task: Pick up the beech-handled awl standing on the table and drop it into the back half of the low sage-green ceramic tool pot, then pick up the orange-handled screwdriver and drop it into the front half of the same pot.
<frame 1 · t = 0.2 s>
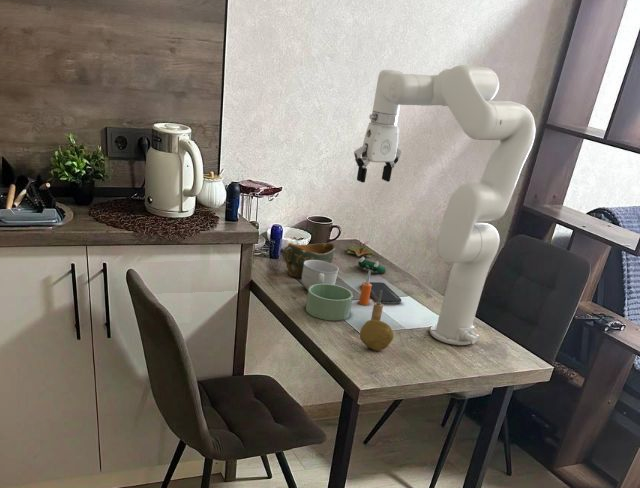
hand: (373, 180, 217), 31 cm above the table, tool pointing down, fingers open, 9 cm apart
green toy figure: (369, 271, 244), on the table
phone: (380, 295, 226), on the table
potato: (373, 349, 191), on the table
lily flower: (360, 254, 259), on the table
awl: (374, 324, 205), on the table
crock: (327, 311, 209), on the table
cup: (305, 273, 235), on the table
teacup: (316, 292, 222), on the table
screwdriver: (363, 303, 218), on the table
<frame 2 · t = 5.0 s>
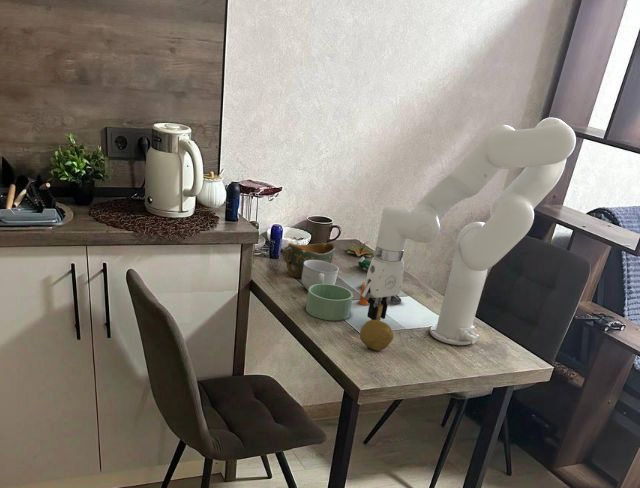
hand: (376, 317, 204), 2 cm above the table, tool pointing down, fingers closed on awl, 2 cm apart
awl: (374, 324, 205), on the table, touching gripper
everything else where it was.
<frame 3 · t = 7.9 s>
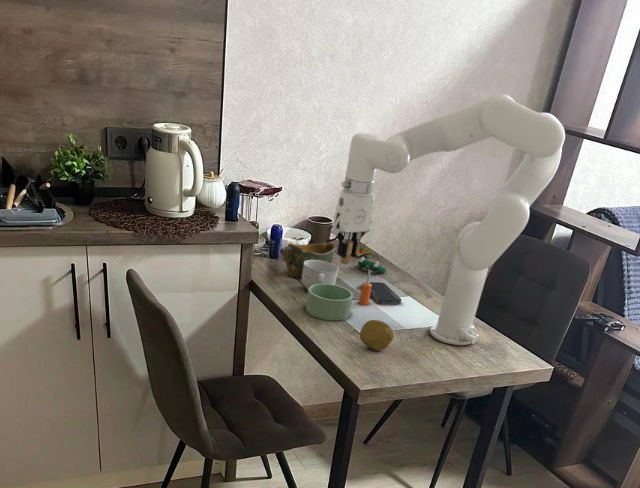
hand: (346, 255, 198), 18 cm above the table, tool pointing down, fingers closed on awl, 2 cm apart
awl: (344, 262, 199), point 16 cm above the table, touching gripper
everything else where it was.
when the fingers open (7 cm above the table, at t = 10.9 s): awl drops 4 cm, resting on crock.
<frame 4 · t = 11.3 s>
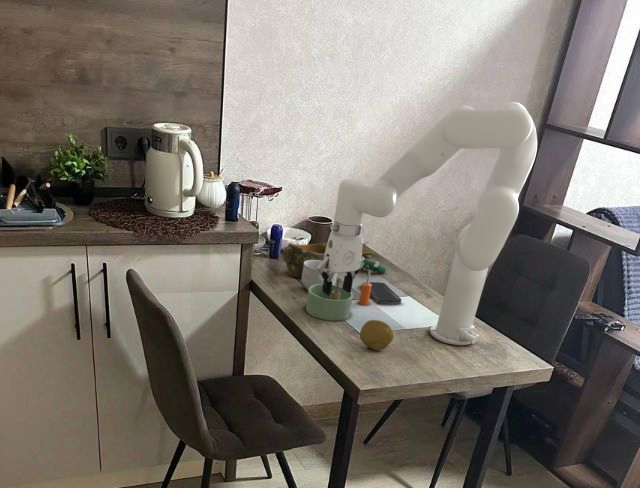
hand: (336, 291, 204), 7 cm above the table, tool pointing down, fingers open, 6 cm apart
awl: (333, 312, 207), point 1 cm above the table, touching crock
everything else where it was.
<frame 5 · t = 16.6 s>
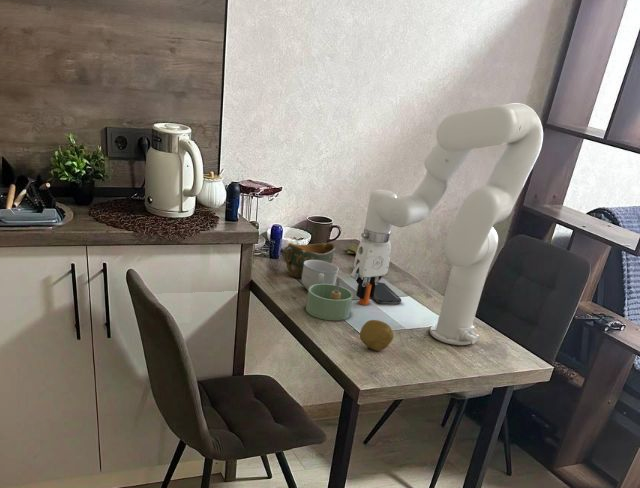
hand: (364, 296, 217), 2 cm above the table, tool pointing down, fingers closed on screwdriver, 2 cm apart
screwdriver: (363, 303, 218), on the table, touching gripper
everything else where it was.
when the fingers open (7 cm above the table, at t = 22.7 s): screwdriver drops 4 cm, resting on crock.
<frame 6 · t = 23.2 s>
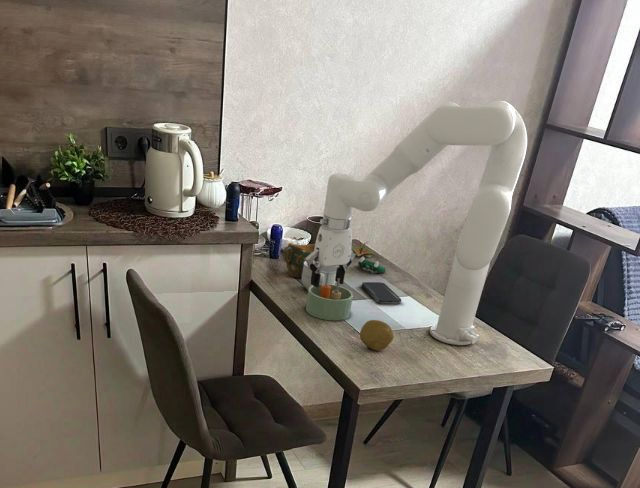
hand: (326, 283, 207), 7 cm above the table, tool pointing down, fingers open, 8 cm apart
screwdriver: (323, 305, 211), point 1 cm above the table, touching crock
everything else where it was.
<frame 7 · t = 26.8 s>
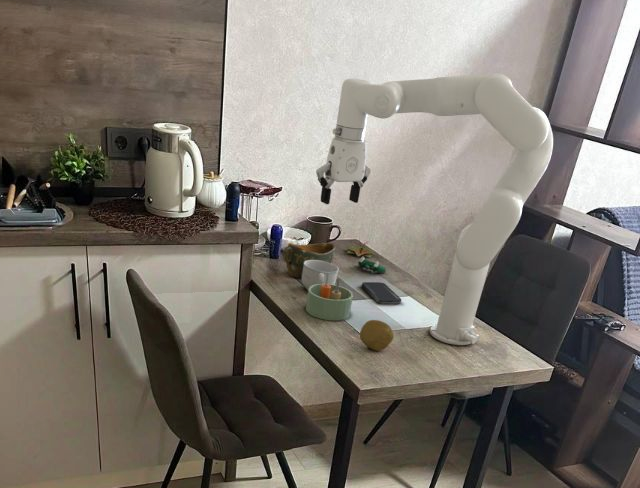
hand: (339, 202, 194), 30 cm above the table, tool pointing down, fingers open, 9 cm apart
nothing on the table moved.
at the end: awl inside the target area in the crock (2.5 cm from its centre), point 0.8 cm above the crock's base; screwdriver inside the target area in the crock (2.5 cm from its centre), point 0.8 cm above the crock's base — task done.
